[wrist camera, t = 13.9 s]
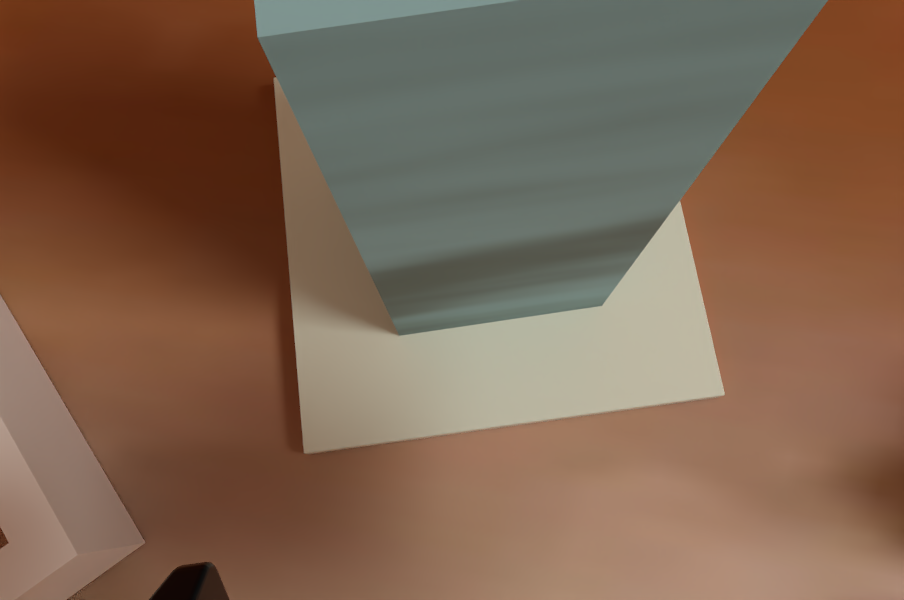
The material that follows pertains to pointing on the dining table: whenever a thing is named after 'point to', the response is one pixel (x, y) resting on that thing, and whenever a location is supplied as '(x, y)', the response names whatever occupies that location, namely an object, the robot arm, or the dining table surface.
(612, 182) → the post
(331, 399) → the mat
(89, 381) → the dining table surface
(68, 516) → the collar
